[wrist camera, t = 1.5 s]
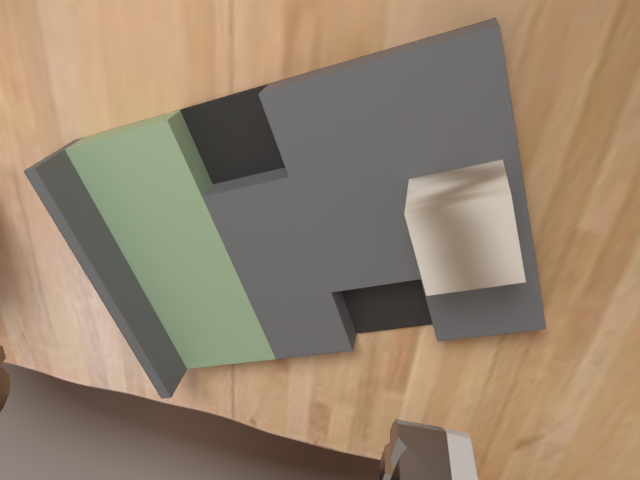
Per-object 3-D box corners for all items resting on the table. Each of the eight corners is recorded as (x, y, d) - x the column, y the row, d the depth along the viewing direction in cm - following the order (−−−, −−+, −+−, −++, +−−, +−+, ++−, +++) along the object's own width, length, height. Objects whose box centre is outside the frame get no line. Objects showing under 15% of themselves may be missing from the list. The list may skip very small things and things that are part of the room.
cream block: (502, 159, 34) (511, 194, 30) (516, 240, 37) (525, 282, 32) (408, 179, 36) (404, 214, 32) (428, 254, 38) (426, 295, 34)
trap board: (495, 18, 32) (505, 37, 27) (540, 308, 42) (554, 362, 37) (73, 140, 42) (23, 171, 37) (188, 351, 52) (161, 398, 47)
